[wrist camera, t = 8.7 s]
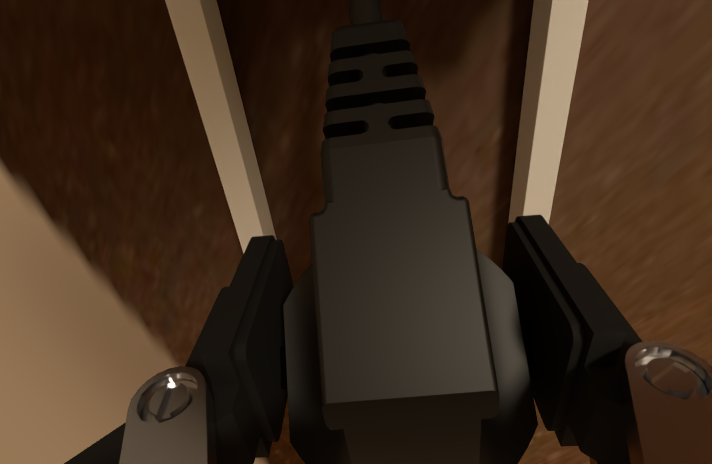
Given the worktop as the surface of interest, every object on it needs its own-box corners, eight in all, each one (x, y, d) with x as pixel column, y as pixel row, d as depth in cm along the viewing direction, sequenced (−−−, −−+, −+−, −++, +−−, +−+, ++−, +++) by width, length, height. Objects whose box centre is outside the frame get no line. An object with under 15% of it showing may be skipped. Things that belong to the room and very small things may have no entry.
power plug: (495, -126, 8) (647, 584, 5) (447, 88, 15) (500, 431, 13) (217, -79, 8) (230, 601, 6) (300, 107, 16) (322, 444, 13)
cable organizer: (150, -121, 11) (60, -160, 8) (1070, -254, 10) (1443, -375, 6) (276, 318, 20) (258, 386, 17) (763, 288, 19) (849, 357, 15)
